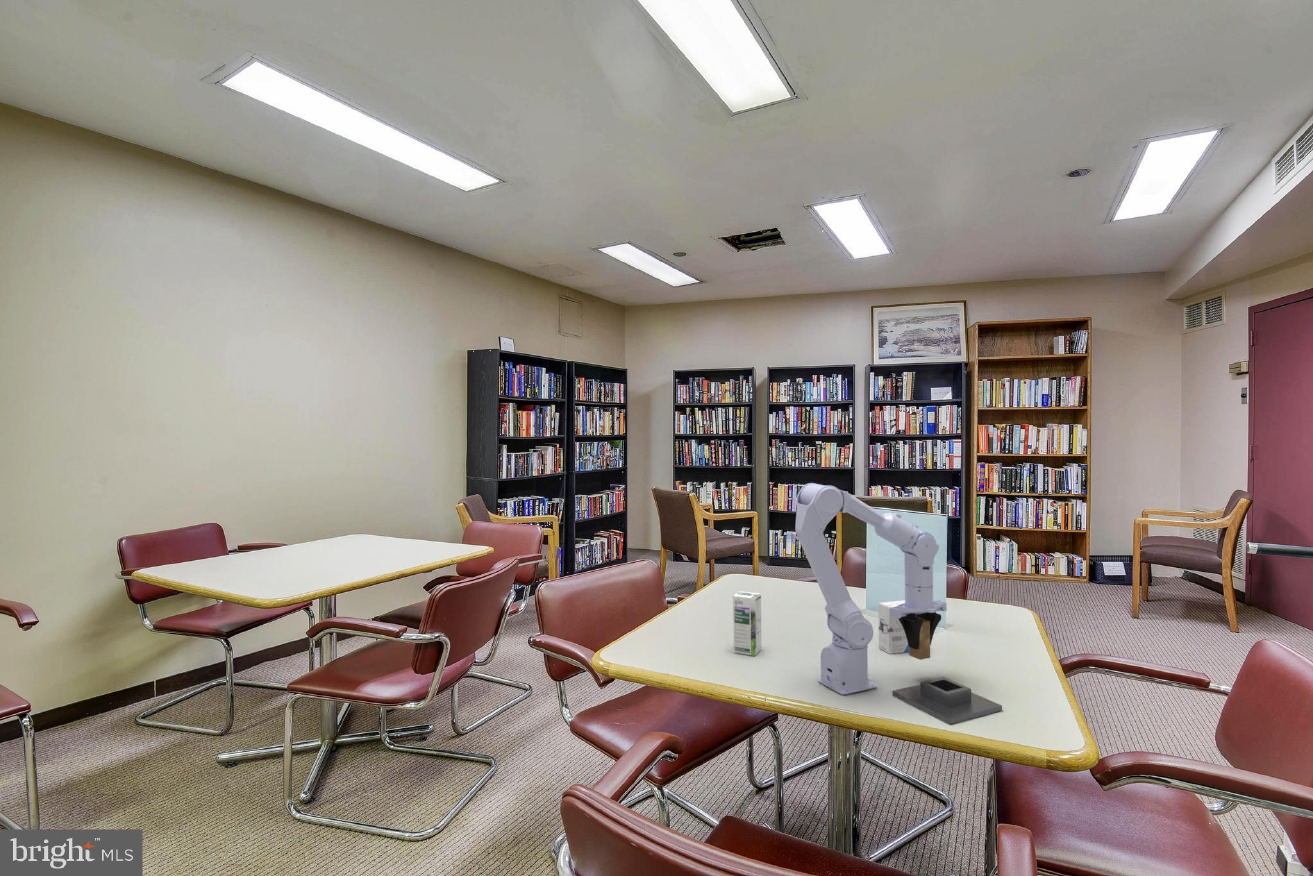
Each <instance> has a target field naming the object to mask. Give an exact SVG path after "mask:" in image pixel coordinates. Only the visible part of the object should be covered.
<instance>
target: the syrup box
mask: <svg viewBox="0 0 1313 876" xmlns="http://www.w3.org/2000/svg"><path fill="white" fill-rule="evenodd" d="M732 599H733V600H732V601H733V602H732V606H733V608H732V610H733V613H732V614H733V654H739V655H741V654H742V655H745V656H751V657H752V656H753V657H755V656H756V655H757V654H758V653H760V651H761V650H762V593H761V592H760V593H759V592H749V591H743V590H739V591H738V592H736V593H735V594H734V595H733V596H732Z"/></svg>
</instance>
